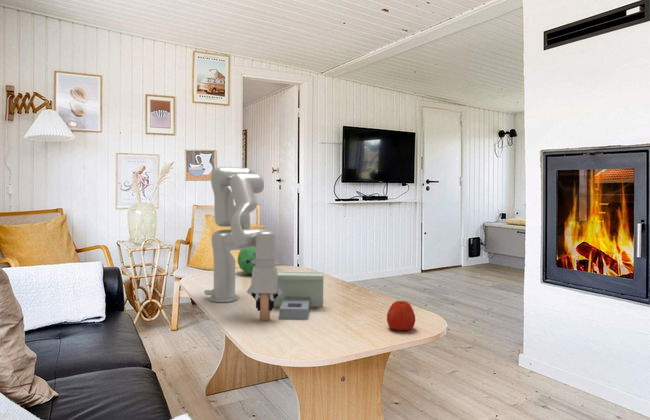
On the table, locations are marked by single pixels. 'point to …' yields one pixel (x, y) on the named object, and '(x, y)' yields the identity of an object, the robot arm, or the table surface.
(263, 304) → the peg
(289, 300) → the socket
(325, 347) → the table surface
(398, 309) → the apple
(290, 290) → the pale green rectangular block
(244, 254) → the decorative sphere
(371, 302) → the table surface
